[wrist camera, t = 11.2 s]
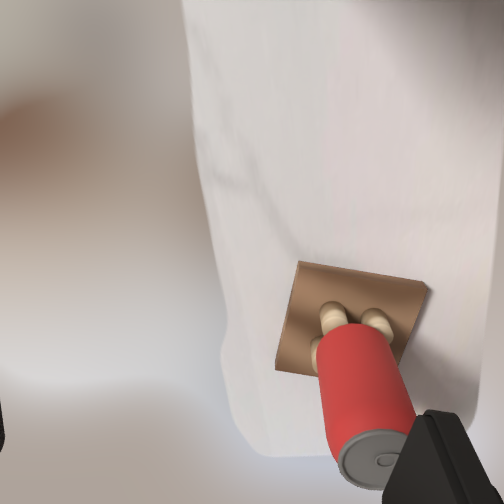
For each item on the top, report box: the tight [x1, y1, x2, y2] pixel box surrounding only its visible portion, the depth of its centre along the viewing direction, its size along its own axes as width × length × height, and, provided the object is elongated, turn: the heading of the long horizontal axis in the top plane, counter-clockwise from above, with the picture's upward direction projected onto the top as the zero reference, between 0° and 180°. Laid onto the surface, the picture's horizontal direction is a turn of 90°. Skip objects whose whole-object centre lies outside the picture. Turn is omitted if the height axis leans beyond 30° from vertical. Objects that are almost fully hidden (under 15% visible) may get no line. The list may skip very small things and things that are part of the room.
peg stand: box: [275, 261, 428, 377], centre depth 42 cm, size 12×12×4 cm
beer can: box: [316, 323, 417, 490], centre depth 34 cm, size 7×7×12 cm
